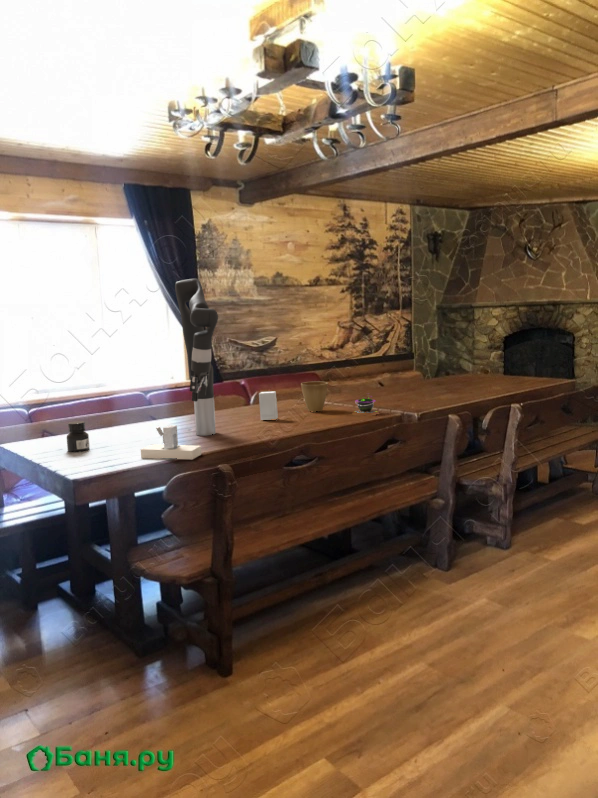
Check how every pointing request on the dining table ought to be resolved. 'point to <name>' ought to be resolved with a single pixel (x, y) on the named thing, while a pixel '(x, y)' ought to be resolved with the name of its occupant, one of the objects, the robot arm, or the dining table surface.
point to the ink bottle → (77, 437)
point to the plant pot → (314, 395)
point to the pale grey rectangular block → (170, 437)
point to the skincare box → (268, 405)
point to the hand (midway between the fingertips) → (198, 398)
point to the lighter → (160, 432)
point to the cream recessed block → (171, 452)
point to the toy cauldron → (365, 405)
